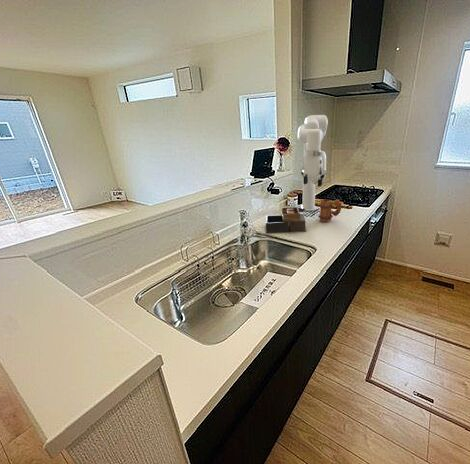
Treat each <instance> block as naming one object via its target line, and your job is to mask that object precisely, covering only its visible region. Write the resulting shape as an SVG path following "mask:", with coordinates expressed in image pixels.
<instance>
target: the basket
mask: <svg viewBox="0 0 470 464" xmlns="http://www.w3.org/2000/svg"><path fill="white" fill-rule="evenodd" d="M265 232H266V234H281V233H282V234H285V233H286V234H287V233H289V232H290V230H289V222H283V217H282V214H272V215H271V214H269V215H265Z"/></svg>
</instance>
